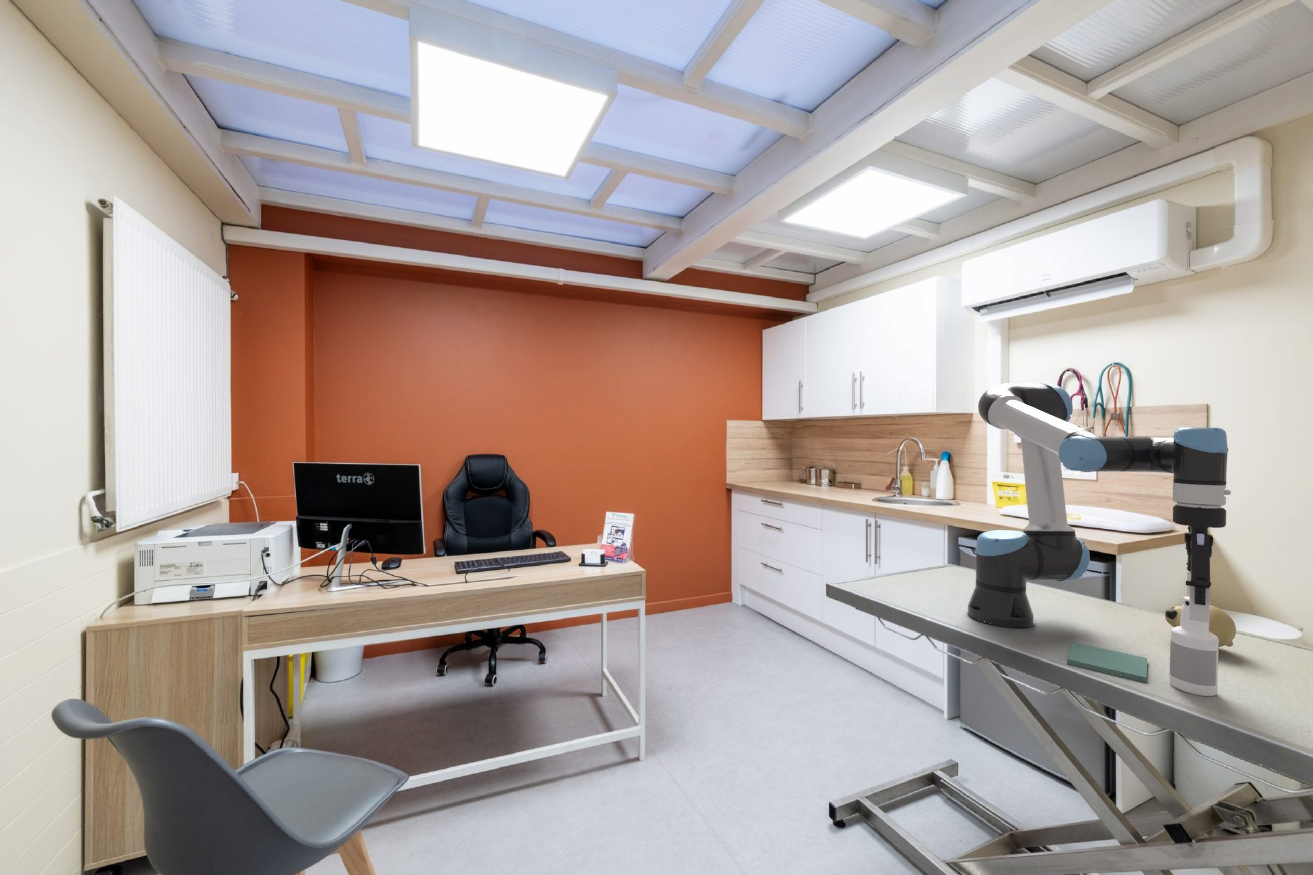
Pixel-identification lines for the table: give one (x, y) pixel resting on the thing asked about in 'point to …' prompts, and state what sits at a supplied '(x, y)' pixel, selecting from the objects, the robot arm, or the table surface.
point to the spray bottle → (1193, 656)
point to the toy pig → (1218, 623)
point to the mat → (1108, 661)
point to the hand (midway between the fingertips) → (1197, 612)
